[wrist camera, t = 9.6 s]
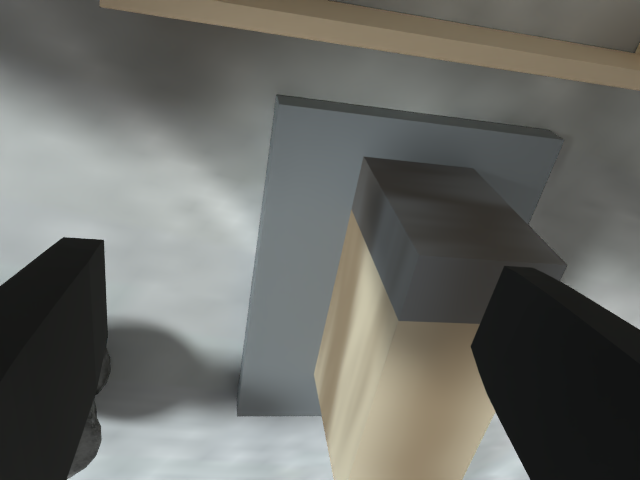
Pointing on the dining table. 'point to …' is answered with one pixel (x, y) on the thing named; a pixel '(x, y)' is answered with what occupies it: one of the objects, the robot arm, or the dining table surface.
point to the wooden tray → (405, 36)
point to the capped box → (415, 319)
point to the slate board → (333, 216)
